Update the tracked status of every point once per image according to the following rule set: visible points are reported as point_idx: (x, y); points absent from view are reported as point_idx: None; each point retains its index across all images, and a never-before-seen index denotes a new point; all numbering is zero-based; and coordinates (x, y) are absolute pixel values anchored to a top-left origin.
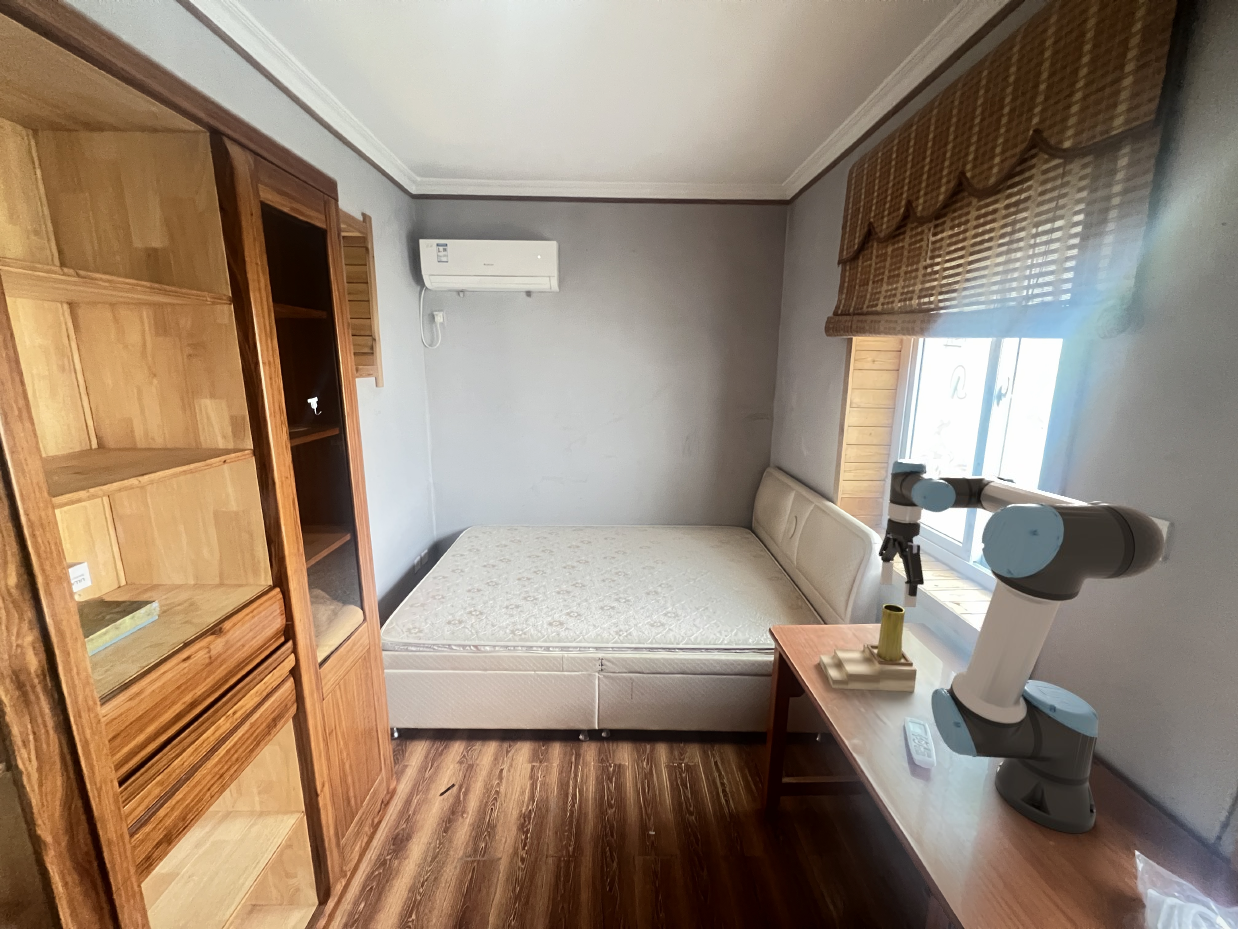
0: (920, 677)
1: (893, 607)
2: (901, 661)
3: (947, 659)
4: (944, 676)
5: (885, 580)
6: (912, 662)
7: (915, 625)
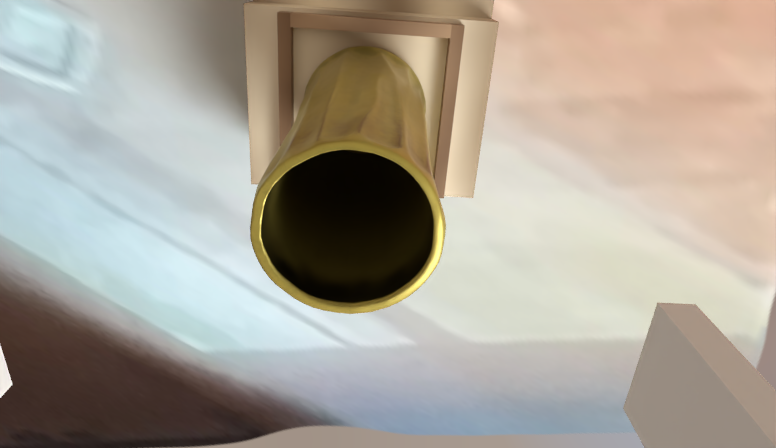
0: None
1: (423, 256)
2: None
3: (485, 365)
4: None
5: (673, 387)
6: None
7: None
